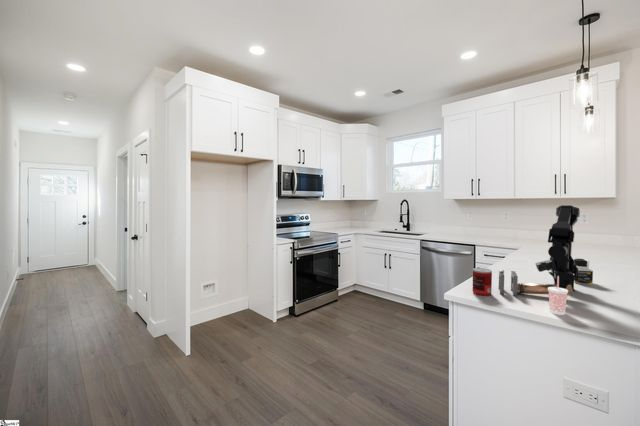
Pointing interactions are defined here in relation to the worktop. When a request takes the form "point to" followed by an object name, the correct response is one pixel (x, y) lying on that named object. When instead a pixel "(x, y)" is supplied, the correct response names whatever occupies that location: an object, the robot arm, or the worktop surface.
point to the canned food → (482, 281)
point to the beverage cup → (557, 299)
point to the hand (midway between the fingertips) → (559, 291)
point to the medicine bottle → (583, 272)
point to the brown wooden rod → (538, 288)
